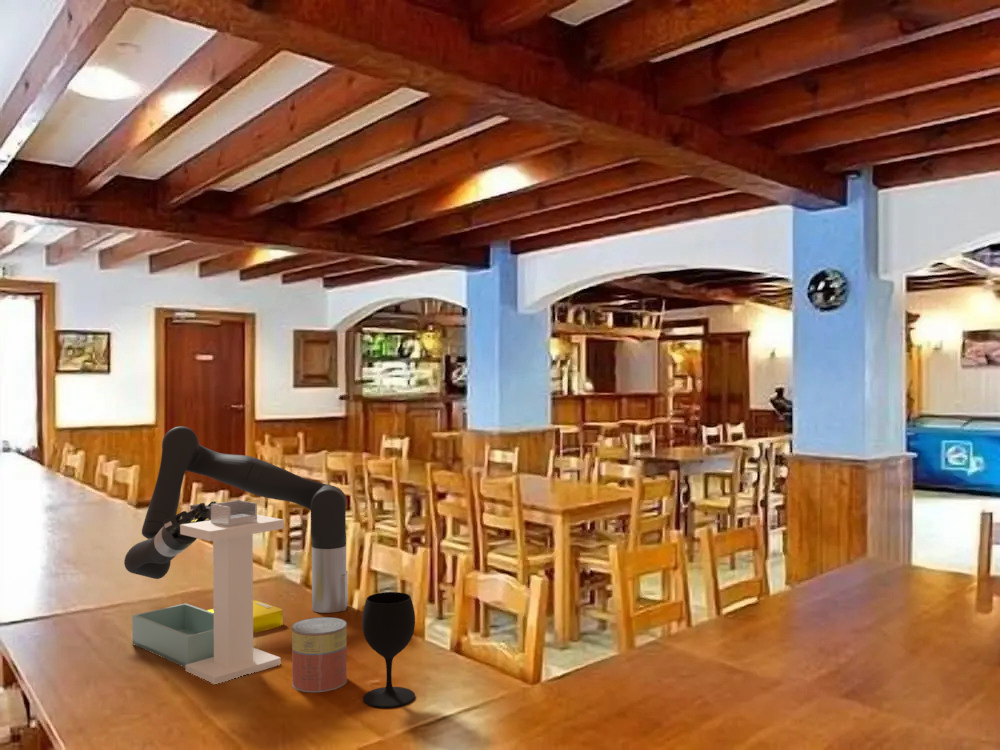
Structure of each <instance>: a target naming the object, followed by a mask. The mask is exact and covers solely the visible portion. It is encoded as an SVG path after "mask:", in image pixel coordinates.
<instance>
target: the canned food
mask: <svg viewBox="0 0 1000 750" xmlns="http://www.w3.org/2000/svg"><path fill="white" fill-rule="evenodd" d="M347 625H348V622H347V621H346V620H344V619H343V618H338V617H331V616H330V617H327V616H322V617H320V616H319V617H311V618H310V617H309V618H305V619H301V620H298V621H296V622H295V623H293V624H292V625H291V648H292V649H291V650H292V653H291V657H292V659H291V662H292V667H291V668H292V670H291V671H292V672H291V673H292V675H291V677H292V680H291V681H292V682H291V686H292V688H293V689H295V690H296V691H298V692H304V693H324V692H329V691H330V692H331V691H333V690H337V689H339V688H341V687H343V686H344V685H346V684H347V682H348V675H347V673H348V672H347V665H348V664H347V662H348V661H347V660H348V659H347Z"/></svg>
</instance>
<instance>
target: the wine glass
mask: <svg viewBox="0 0 1000 750" xmlns="http://www.w3.org/2000/svg"><path fill="white" fill-rule="evenodd" d="M412 600H413V599H412V598H411V596H410V594H408V593H405V592H397V591H388V592H387V591H385V592H378V593H373V594H371V595H369V596H366V599H365V603H364V606H363V611H362V620H361V624H362V627H361V628H362V631H363V637H364V639H365V640H366V643H367V644H368V645H369V647H370V648H371V649H372V650H373V651H374V652H376V653H377V654H378V655H380V656H381V657H383V659H384V660H385V666H386V667H385V668H386V681H385V682H386V683H385V686H384V687H376V688H374V689H372V690H369V691H367V692H366V693H364V695H363V697H362V700H363V701H362V702H363V703H364V704H365V705H367V706H369V707H372V708H377V709H396V708H402V707H404V706H407V705H410V704H411V703H413V701H415V699H416V693H415V692H414V691H413V690H412V689H410V688H406V687H403V686H393V683H392V682H393V681H392V679H393V678H392V674H393V673H392V669H393V667H392V666H393V660H394V658H395V657H396V656H397V655H398V654H400V653H401V652H402V651H403V650H404V649H406V647H407V646H408V644H409V643H410V641H411V640H412V637H413V635H414V634H415V633H414V632H415V627H416V614H415V613H416V611H415V607H414V605H413V604H414V602H413V601H412Z"/></svg>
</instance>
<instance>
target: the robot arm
mask: <svg viewBox="0 0 1000 750" xmlns="http://www.w3.org/2000/svg"><path fill="white" fill-rule="evenodd" d="M160 458H161V459H160V466H159V471H158V475H157V479H156V483H155V485H154V488H153V493H152V495H151V499H150V502H149V505H148V508H147V511H146V514H145V518H144V520H143V525H142V528H141V535H142V536H143V537H144V538H145V539H146V540H142V541H140V542H138V543H136V544H134V545H133V546H132V547H131V548H130V549H129V550H128V551H127V553H126V555H125V557H124V562H123V563H124V568H125V569H126V570H127V571H128V572H129V573H131V574H134V575H138V576H142V577H146V578H150V579H155V580H160V579H162V578H163V577H165V576H166V575H167V574H168V572H169V570H170V568H171V561H172V560H174V558H176V557H177V556H178V555H180V554H181V553H183V552H184V551H185V550H186V549H188V547H190V546H192V544H193V543H194V542H196V541H197V539H198V538H195V537H190V536H186V535H182V534H180V525H182V524H189V523H195V522H202V521H209V520H211V519H207V518H203V517H200V516H202V515H203V514H204V513H205V512H206V506H211V504H215V503H217V501H210V503H209V504H207V505H206V504H205V502H201V503H198V504H199V505H198V506H197V507H196V508H195V509H191V510H190V509H189V510H188V511H187V510H184V511H181V512H179V513H177V512H178V508H179V504H180V498H181V497H180V496H181V490H182V485H183V480H184V478H185V474H186V472H191V473H194V474H198V475H200V476H201V475H202V476H205V477H207V478H211V479H214V480H216V481H218V482H221V483H224V484H226V485H229V486H232V487H234V488H236V489H239V490H241V491H244V492H247V493H250V494H252V495H254V496H258V497H263V498H267V499H271V500H277V501H285V502H289V503H293V504H296V505H299V506H301V507H303V508H306V509H307V510H310V537H311V604H312V605H311V607H312V611H313V612H316V613H321V614H322V613H324V614H327V613H328V614H330V613H338V612H345V611H346V610H347V607H348V605H349V603H348V600H349V599H348V595H349V594H348V588H349V587H348V585H349V584H348V582H349V581H348V570H347V532H346V531H347V528H346V525H347V524H346V522H347V521H346V520H347V519H346V511H347V510H346V507H347V496H346V494H345V493H344V491H343V490H342V489H341V488H339V487H338V486H334V485H331V484H327V483H323V482H318V481H315V480H311V479H308V478H305V477H301V476H299V475H297V474H295V473H293V472H291V471H289V470H286V469H284V468H282V467H280V466H277V465H275V464H273V463H270V462H267V461H265V460H262V459H259V458H257V457H253V456H249V455H242V454H230V453H221V452H217V451H214V450H212V449H210V448H208V447H205V446H203V445H201V444H200V442H199V439H198V435H197V434H196V432H195V431H194V430H192V429H191V428H189V427H187V426H182V425H181V426H175V427H173V428H171V429H170V430H167V432H166V433H165V435H164V436H163V438H162V442H161V457H160ZM205 505H206V506H205Z"/></svg>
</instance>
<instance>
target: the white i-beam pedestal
mask: <svg viewBox="0 0 1000 750" xmlns="http://www.w3.org/2000/svg"><path fill="white" fill-rule="evenodd" d="M284 525H285V519H284V518H283V519H282V518H277V517H272V516H267V515H261V514H257V522H254V523H248V524H242V525H235V526H229V527H228V526H223V525H219V524H214V523H211V520H209V521H202V522H195V523H189V524H182V525H180V534H182V535H186V536H190V537H195V538H197V539H199V540H203V541H207V542H212V558H213V561H212V565H213V566H212V567H213V569H212V571H213V572H212V574H213V577H212V578H213V581H212V583H213V585H212V586H213V592H212V593H213V594H212V595H213V596H212V597H213V601H212V602H213V603H212V604H213V609H214V657H211V658H208V659H204V660H201V661H197V662H194V663H190V664H187V665H185V668H184V669H185V671H187V672H189V673H192V674H194V675H196V676H198V677H200V678H199V679H201V678H203V679H205V680H207V681H209V682H211V683H210V684H212V683H213V684H212V685H214V684H217V685H219V684H218V683H220V684H222V683H221V682H223V683H226V682H229V681H228V680H230V681H232V680H231V679H233V680H235V679H234V678H236V679H239V678H241V677H240V676H242V677H244V676H243V675H246V674H249V675H252V674H255V673H258V672H262V671H264V670H267V669H271V668H274V667H278V666H280V664H281V665H282V660H281V659H282V658H281V657H280V656H277V655H275V654H272V653H270V652H267V651H264V650H261V649H259V648H255V647H254V633H253V600H254V563H253V562H254V557H253V555H254V551H253V549H254V548H253V547H254V546H253V541H254V540H253V539H254V538H253V536H254V535H255V534H261V533H266V532H273V531H277V530H279V531H280V530H282V529H285V526H284ZM277 665H278V666H277ZM187 672H186V673H187ZM254 672H255V673H254ZM189 673H188V674H189ZM251 673H252V674H251ZM192 674H191V675H192ZM194 675H193V676H194ZM196 676H195V677H196ZM246 676H247V675H246ZM198 677H197V678H198ZM238 677H239V678H238ZM203 679H202V680H203ZM205 680H204V681H205ZM207 681H206V682H207ZM225 681H226V682H225ZM209 682H208V683H209Z"/></svg>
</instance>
